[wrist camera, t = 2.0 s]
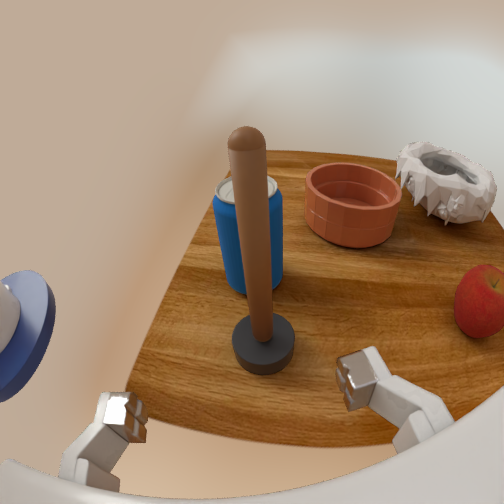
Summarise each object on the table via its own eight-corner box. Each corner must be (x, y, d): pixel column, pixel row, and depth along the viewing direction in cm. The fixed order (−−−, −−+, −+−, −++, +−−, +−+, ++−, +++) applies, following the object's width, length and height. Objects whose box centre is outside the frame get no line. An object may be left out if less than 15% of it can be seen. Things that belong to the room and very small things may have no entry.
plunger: (244, 382, 23) (191, 158, 9) (228, 334, 27) (180, 125, 13) (302, 363, 24) (329, 136, 10) (280, 318, 28) (277, 110, 14)
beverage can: (292, 271, 32) (295, 180, 24) (261, 308, 29) (253, 213, 21) (249, 252, 36) (240, 166, 28) (216, 283, 32) (195, 193, 24)
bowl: (496, 255, 30) (520, 205, 24) (393, 228, 37) (407, 169, 31) (469, 195, 44) (480, 155, 38) (388, 173, 51) (395, 130, 45)
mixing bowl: (333, 261, 33) (340, 218, 29) (289, 206, 43) (289, 169, 39) (409, 236, 36) (420, 199, 31) (358, 191, 46) (363, 158, 41)
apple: (490, 357, 19) (529, 316, 14) (439, 340, 23) (474, 293, 18) (490, 308, 24) (518, 264, 19) (445, 290, 27) (469, 243, 22)
